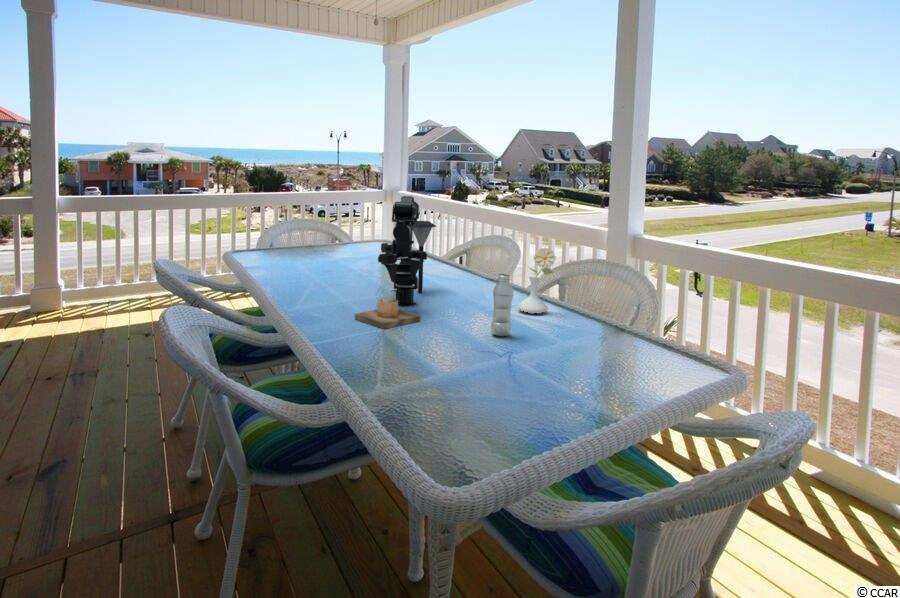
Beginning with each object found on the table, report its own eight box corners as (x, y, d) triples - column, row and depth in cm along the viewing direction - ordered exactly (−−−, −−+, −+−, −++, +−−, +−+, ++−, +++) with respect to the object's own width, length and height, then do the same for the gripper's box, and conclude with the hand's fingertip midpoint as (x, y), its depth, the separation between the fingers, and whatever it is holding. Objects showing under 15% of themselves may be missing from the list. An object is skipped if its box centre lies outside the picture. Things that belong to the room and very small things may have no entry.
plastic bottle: (488, 332, 199) (491, 272, 195) (509, 332, 200) (512, 273, 195) (491, 338, 193) (494, 276, 188) (512, 338, 193) (516, 277, 189)
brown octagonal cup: (389, 311, 214) (389, 297, 213) (402, 315, 209) (402, 301, 208) (373, 314, 209) (373, 300, 208) (386, 318, 204) (386, 304, 203)
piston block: (390, 312, 221) (390, 292, 219) (420, 321, 210) (420, 300, 208) (354, 319, 210) (354, 298, 208) (384, 329, 199) (384, 307, 197)
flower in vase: (513, 313, 225) (517, 247, 220) (522, 307, 236) (526, 243, 230) (548, 318, 221) (553, 250, 215) (555, 311, 231) (560, 246, 225)
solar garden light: (402, 294, 250) (403, 222, 243) (409, 289, 262) (410, 219, 255) (431, 297, 248) (433, 223, 241) (437, 290, 260) (439, 220, 253)
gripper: (408, 233, 227) (407, 274, 230) (368, 236, 214) (368, 279, 217) (428, 236, 219) (427, 279, 223) (388, 240, 206) (388, 285, 210)
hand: (402, 280), depth 218 cm, fingers open, 9 cm apart
